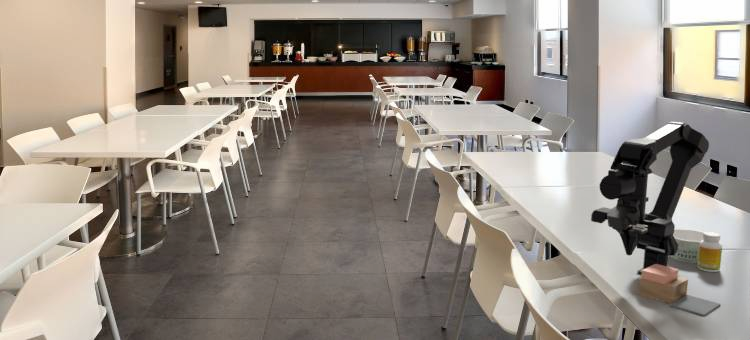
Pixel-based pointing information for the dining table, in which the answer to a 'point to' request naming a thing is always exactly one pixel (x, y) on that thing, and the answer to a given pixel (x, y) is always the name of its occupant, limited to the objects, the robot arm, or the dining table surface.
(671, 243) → the robot arm
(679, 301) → the mat
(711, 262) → the supplement bottle
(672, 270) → the pink block
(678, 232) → the food container
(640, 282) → the brown square block
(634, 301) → the dining table surface
